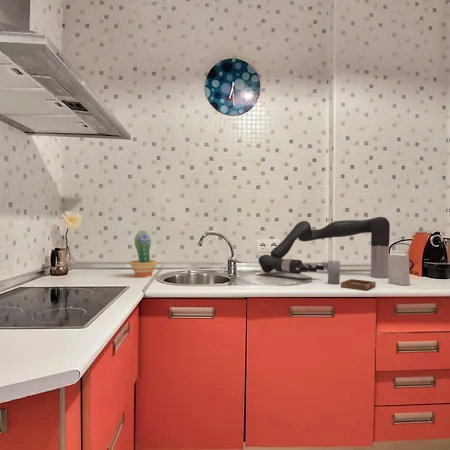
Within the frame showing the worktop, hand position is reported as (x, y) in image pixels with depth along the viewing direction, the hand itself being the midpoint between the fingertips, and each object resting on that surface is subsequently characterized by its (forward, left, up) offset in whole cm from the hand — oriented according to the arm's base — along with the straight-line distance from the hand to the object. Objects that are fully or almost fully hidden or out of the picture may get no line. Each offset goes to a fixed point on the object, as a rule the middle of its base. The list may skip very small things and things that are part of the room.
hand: (320, 268), depth 190 cm
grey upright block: (0, +7, -6) cm, 10 cm away
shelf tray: (+2, +20, -6) cm, 21 cm away
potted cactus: (+48, -82, -7) cm, 95 cm away
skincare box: (-20, +32, -7) cm, 39 cm away
